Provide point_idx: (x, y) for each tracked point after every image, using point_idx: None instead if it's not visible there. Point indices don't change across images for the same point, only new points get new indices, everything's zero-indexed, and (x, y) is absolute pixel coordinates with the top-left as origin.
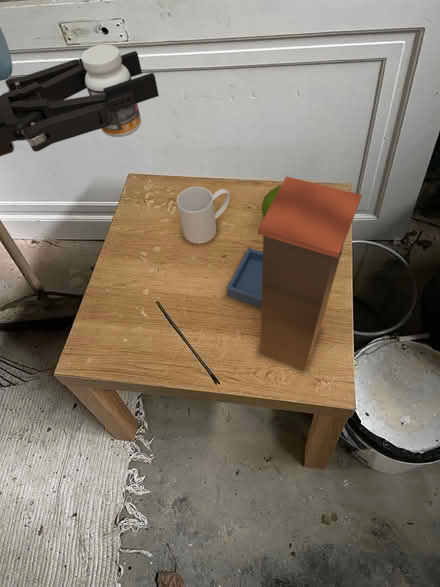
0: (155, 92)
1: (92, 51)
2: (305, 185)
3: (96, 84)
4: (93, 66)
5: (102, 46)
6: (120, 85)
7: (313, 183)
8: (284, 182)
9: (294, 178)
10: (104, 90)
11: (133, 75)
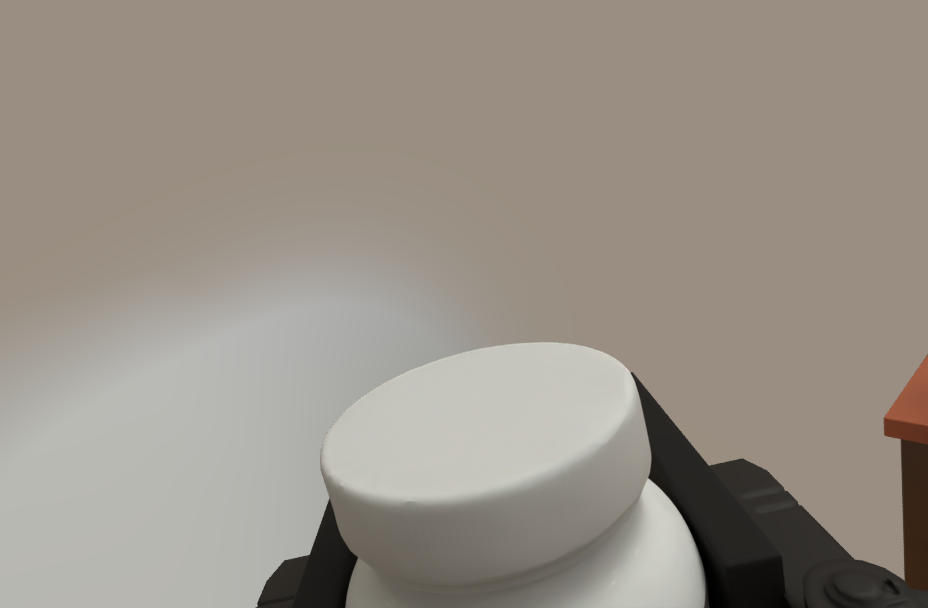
0: None
1: (397, 439)
2: (923, 394)
3: (665, 597)
4: (625, 443)
5: (372, 405)
6: (698, 474)
7: (910, 384)
8: (917, 421)
9: (892, 407)
10: (761, 558)
11: None
